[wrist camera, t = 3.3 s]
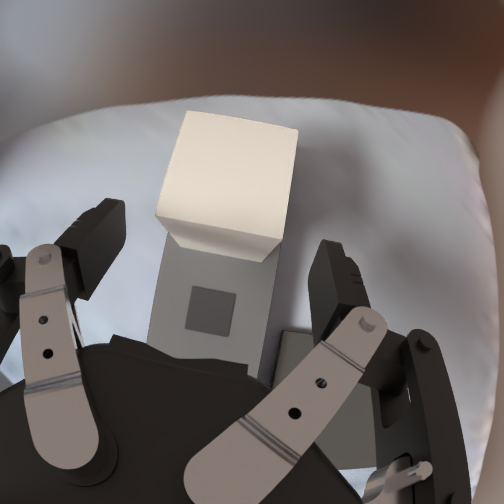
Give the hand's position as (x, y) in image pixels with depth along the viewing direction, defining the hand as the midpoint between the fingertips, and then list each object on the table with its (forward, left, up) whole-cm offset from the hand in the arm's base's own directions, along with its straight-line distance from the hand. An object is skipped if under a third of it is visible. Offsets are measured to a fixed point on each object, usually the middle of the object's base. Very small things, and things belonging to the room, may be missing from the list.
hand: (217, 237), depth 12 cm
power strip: (0, -2, -9) cm, 9 cm away
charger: (0, +3, -9) cm, 9 cm away
